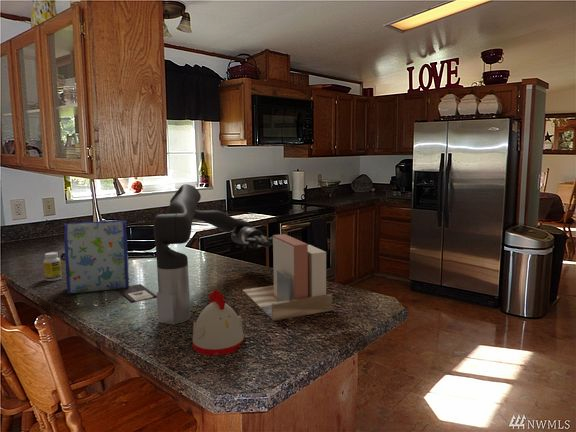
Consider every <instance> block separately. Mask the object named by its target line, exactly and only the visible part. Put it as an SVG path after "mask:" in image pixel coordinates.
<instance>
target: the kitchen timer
mask: <svg viewBox="0 0 576 432" xmlns="http://www.w3.org/2000/svg"><path fill="white" fill-rule="evenodd" d="M208 297H209V298H208V299H209V303H208V304H207V305H206V306H205V307H204V308H203V309H202V310H201V312H200V314H199V316H198V317H197V319H196V321H193V327H192V329H193V330H192V333H193V334H192V348H193V350H194V351H195V352H197V353H198V354H202V355H206V356H222V355H228V354H231V353H235V352H236V351H238V350H240V345H242V343H243V342H244V340H245V335H244V330H243V319H242V317H241V315H237V313H236V312H235V310H234V309H233V308H232V307H231V306H230V305H229V304H228V303H227V302H226V299H224V294H223V293H220V290H217V289H214V290H213V292H211V294H209V295H208Z"/></svg>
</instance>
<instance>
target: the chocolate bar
mask: <svg viewBox="0 0 576 432" xmlns="http://www.w3.org/2000/svg"><path fill="white" fill-rule="evenodd" d="M116 290H117V291H118V293H120V294H121V295H122V296H123V297H124V298H126V299H127V300H128V301H129V302H130V303H137V302H141V301H145V300H146V301H147V300H150V299H151V300H152V299H154V298H156V299H157V294H155V293H154V292H152V291H151V290H150V289H148V288H147V287H146V286H144V285H143V284H141V283H140V284H134V285H129V288H121V289H116Z"/></svg>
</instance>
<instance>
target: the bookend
mask: <svg viewBox="0 0 576 432" xmlns="http://www.w3.org/2000/svg"><path fill="white" fill-rule="evenodd" d="M288 300H291V278H290V277H289V276H287V275H285V274H284V273H282V272H281V271H279V270H277V302H282V301H288ZM261 309H262V311H263V312H265V314H266V315H268V317H269V318H271V319H272V305H269V306H263V307H262V308H261Z"/></svg>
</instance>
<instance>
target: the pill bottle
mask: <svg viewBox="0 0 576 432" xmlns="http://www.w3.org/2000/svg"><path fill="white" fill-rule="evenodd" d="M58 256H59V254H58V252H57V251H56V252H55V251H52V252H47V253H44V260H43V270H44V272H43V273H44V280H45V281H48V282H53V281H59V280H60V279H62V278H63V276H62V275H63V274H62V263H61V258H60V257H58Z"/></svg>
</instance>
